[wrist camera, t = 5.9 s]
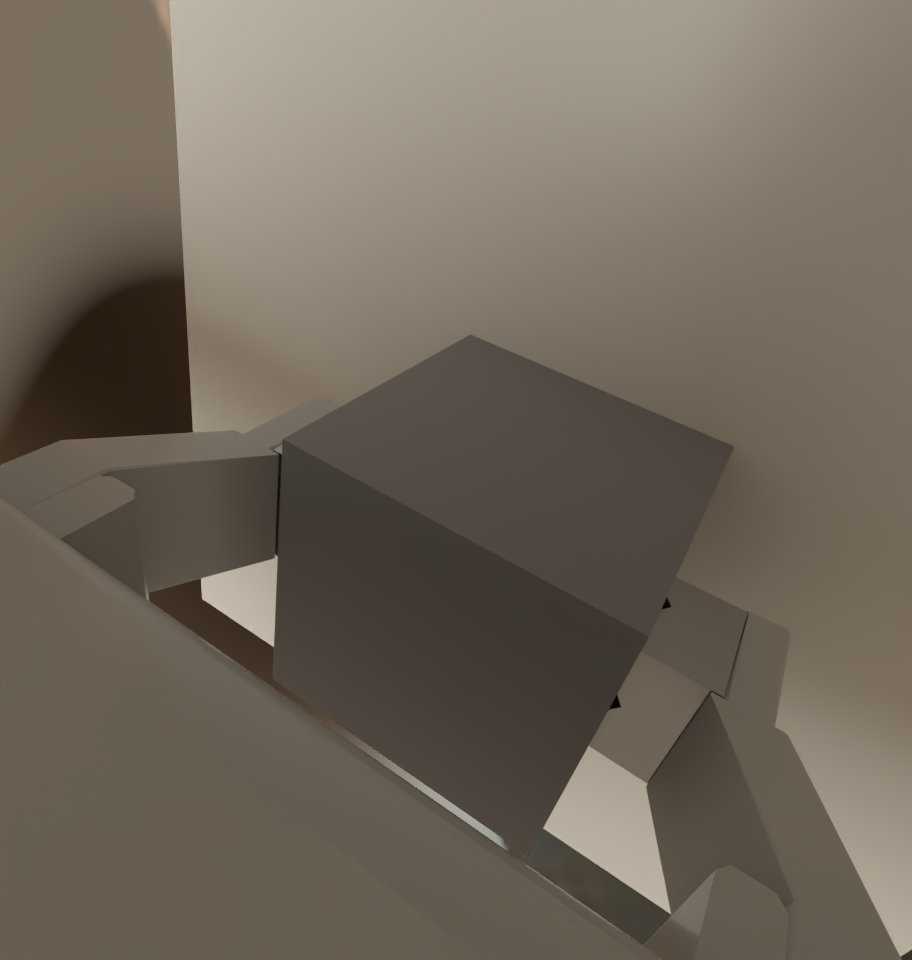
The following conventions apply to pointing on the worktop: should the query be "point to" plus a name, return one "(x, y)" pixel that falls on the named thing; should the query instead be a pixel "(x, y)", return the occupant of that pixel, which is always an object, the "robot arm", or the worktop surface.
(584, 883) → the worktop surface
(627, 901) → the worktop surface
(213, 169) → the cover sheet
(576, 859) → the worktop surface
